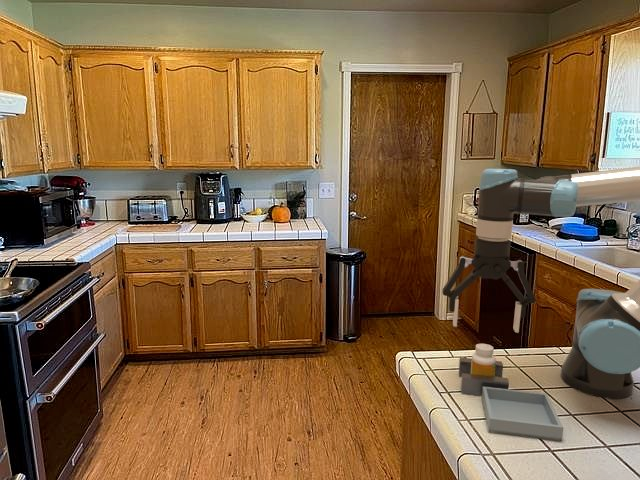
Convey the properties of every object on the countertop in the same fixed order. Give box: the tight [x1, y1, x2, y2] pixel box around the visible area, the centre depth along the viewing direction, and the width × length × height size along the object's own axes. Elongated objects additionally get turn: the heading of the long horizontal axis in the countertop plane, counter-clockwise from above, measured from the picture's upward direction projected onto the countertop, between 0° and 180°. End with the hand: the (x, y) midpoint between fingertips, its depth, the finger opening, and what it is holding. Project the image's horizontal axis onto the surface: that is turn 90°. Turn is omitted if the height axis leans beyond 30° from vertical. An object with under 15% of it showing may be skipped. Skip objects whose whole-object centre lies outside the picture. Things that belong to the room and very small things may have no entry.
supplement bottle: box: [471, 343, 497, 377], centre depth 114 cm, size 5×5×10 cm
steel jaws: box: [458, 356, 510, 397], centre depth 114 cm, size 10×11×4 cm
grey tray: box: [481, 387, 564, 443], centre depth 100 cm, size 13×13×3 cm
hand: (484, 327), depth 112 cm, fingers open, 13 cm apart
